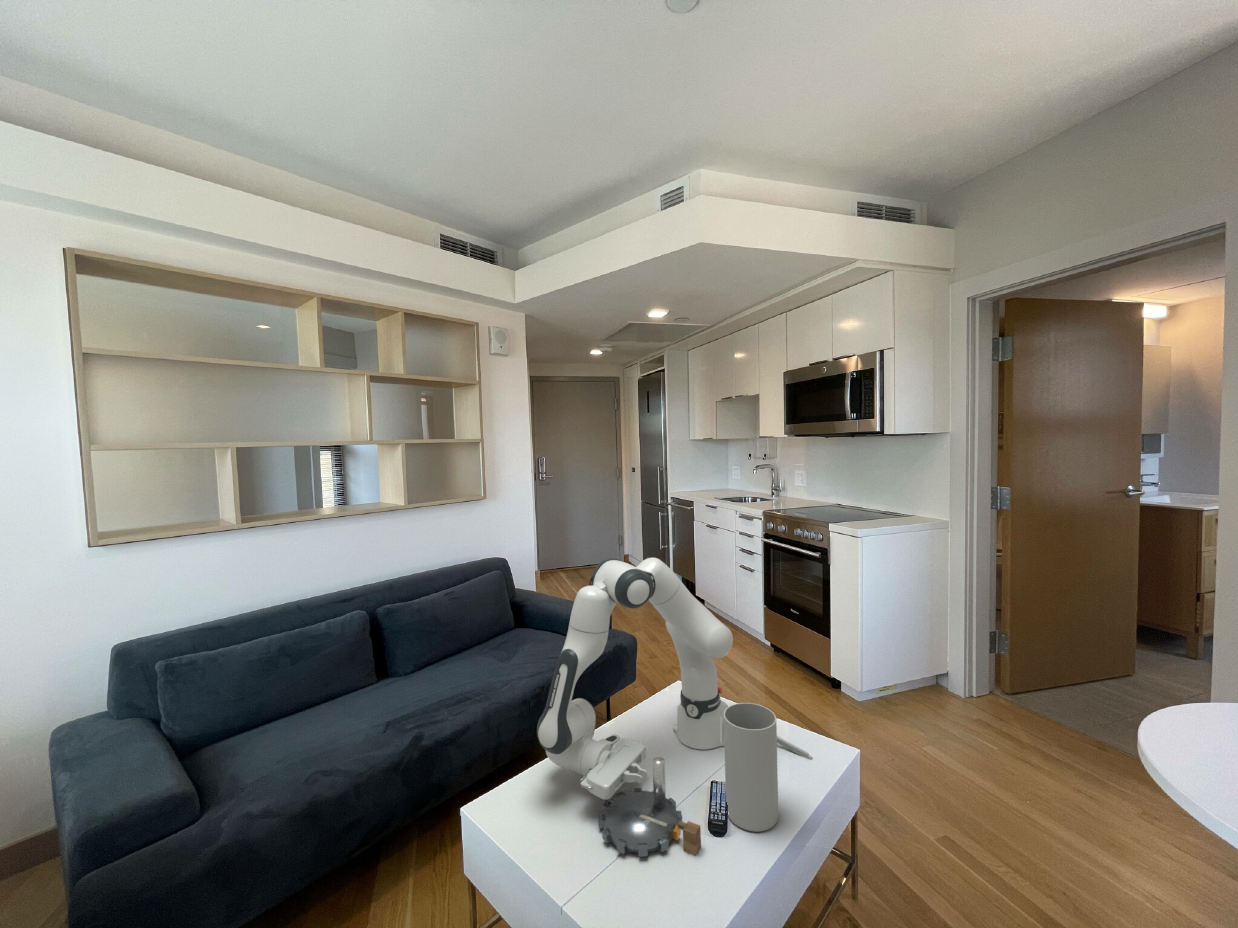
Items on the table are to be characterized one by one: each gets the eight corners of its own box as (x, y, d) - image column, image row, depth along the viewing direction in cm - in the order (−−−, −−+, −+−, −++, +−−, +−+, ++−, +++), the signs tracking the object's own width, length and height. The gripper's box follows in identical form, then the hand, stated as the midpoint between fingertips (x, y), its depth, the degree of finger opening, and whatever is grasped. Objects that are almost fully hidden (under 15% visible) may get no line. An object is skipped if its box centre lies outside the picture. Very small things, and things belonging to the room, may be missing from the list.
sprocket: (664, 787, 137) (662, 740, 137) (695, 842, 118) (693, 788, 118) (591, 804, 132) (589, 755, 131) (611, 865, 113) (609, 808, 112)
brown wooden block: (682, 838, 121) (681, 817, 121) (700, 846, 118) (700, 825, 118) (676, 847, 118) (675, 826, 118) (695, 855, 116) (695, 834, 116)
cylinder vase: (787, 811, 128) (785, 713, 127) (764, 842, 119) (761, 736, 118) (741, 790, 137) (739, 697, 136) (716, 816, 127) (713, 718, 126)
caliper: (745, 736, 161) (745, 717, 161) (747, 735, 162) (746, 715, 162) (811, 761, 148) (811, 739, 148) (813, 759, 149) (812, 737, 149)
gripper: (575, 771, 129) (622, 789, 122) (618, 730, 147) (662, 744, 139) (576, 795, 129) (623, 815, 122) (618, 752, 147) (662, 767, 140)
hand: (644, 777), depth 131 cm, fingers closed
